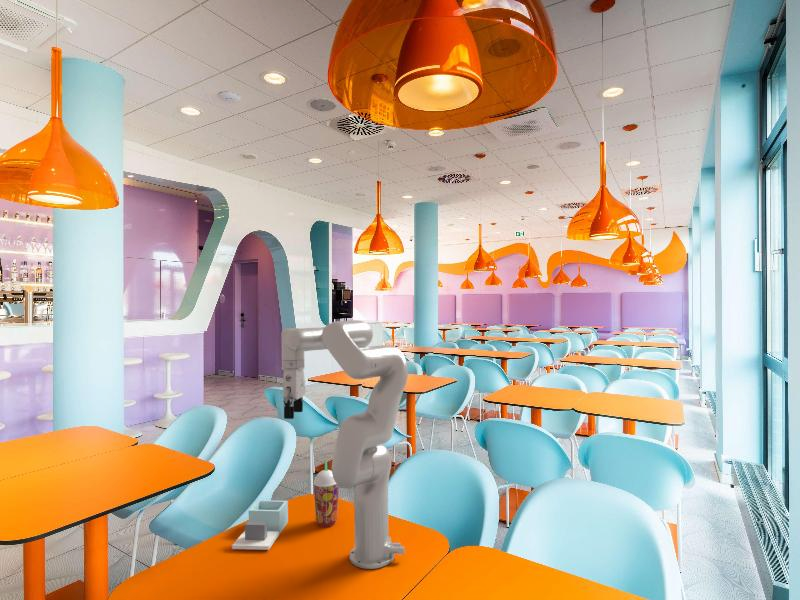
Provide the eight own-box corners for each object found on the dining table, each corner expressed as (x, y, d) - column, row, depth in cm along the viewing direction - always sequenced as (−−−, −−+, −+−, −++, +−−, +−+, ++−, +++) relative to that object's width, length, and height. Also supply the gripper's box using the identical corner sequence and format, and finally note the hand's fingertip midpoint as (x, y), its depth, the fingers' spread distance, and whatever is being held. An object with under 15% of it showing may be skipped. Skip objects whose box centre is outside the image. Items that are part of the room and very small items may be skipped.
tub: (288, 522, 156) (287, 500, 156) (279, 533, 148) (279, 511, 148) (258, 521, 156) (258, 500, 157) (248, 532, 148) (248, 510, 149)
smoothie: (312, 519, 157) (311, 459, 157) (337, 516, 160) (336, 456, 160) (315, 530, 149) (314, 467, 149) (341, 526, 152) (340, 464, 152)
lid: (279, 537, 146) (279, 516, 146) (268, 552, 137) (268, 530, 137) (244, 536, 146) (244, 516, 147) (232, 551, 138) (231, 529, 138)
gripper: (296, 367, 151) (296, 421, 151) (311, 361, 169) (311, 409, 168) (273, 368, 152) (273, 421, 152) (290, 361, 169) (291, 409, 169)
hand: (293, 415), depth 160 cm, fingers open, 9 cm apart
